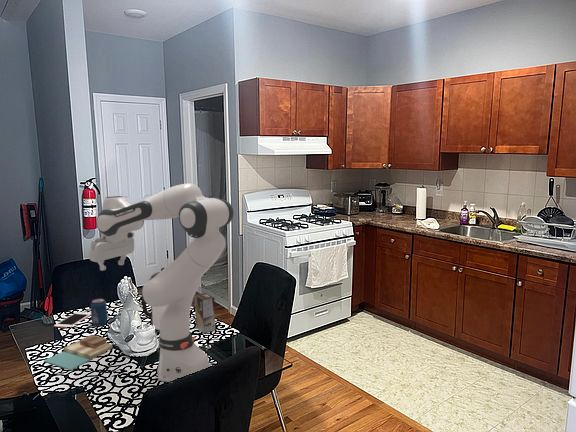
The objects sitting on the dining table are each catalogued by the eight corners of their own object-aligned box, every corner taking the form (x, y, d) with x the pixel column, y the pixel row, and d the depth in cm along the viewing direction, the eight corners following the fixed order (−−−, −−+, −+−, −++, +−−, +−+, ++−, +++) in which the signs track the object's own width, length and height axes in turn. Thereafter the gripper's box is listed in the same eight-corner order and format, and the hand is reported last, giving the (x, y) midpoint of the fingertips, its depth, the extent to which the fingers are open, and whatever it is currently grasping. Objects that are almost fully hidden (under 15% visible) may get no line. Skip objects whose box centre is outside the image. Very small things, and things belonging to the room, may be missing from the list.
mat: (90, 360, 171) (90, 359, 171) (70, 370, 163) (70, 369, 163) (63, 352, 177) (63, 351, 177) (43, 361, 170) (43, 360, 170)
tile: (106, 342, 182) (106, 338, 182) (94, 348, 177) (94, 344, 176) (91, 339, 186) (91, 334, 185) (79, 344, 180) (79, 340, 180)
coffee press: (179, 320, 212) (177, 261, 207) (184, 332, 197) (181, 270, 192) (143, 325, 205) (139, 265, 201) (144, 338, 191) (141, 274, 186)
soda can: (107, 320, 211) (105, 297, 210) (107, 325, 205) (106, 301, 203) (92, 322, 209) (90, 299, 207) (92, 327, 202) (90, 303, 201)
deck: (112, 348, 181) (112, 344, 180) (90, 360, 171) (90, 355, 171) (86, 341, 188) (86, 337, 187) (64, 352, 178) (63, 347, 177)
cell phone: (92, 314, 220) (92, 312, 220) (70, 328, 203) (70, 326, 202) (77, 313, 222) (77, 311, 221) (53, 327, 204) (53, 325, 204)
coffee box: (216, 330, 200) (215, 297, 197) (203, 333, 196) (202, 300, 194) (207, 323, 207) (206, 292, 205) (195, 327, 203) (193, 295, 201)
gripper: (97, 240, 161) (96, 275, 164) (137, 232, 180) (136, 263, 182) (85, 237, 164) (85, 271, 166) (126, 229, 182) (125, 260, 185)
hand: (112, 267), depth 174 cm, fingers open, 8 cm apart
